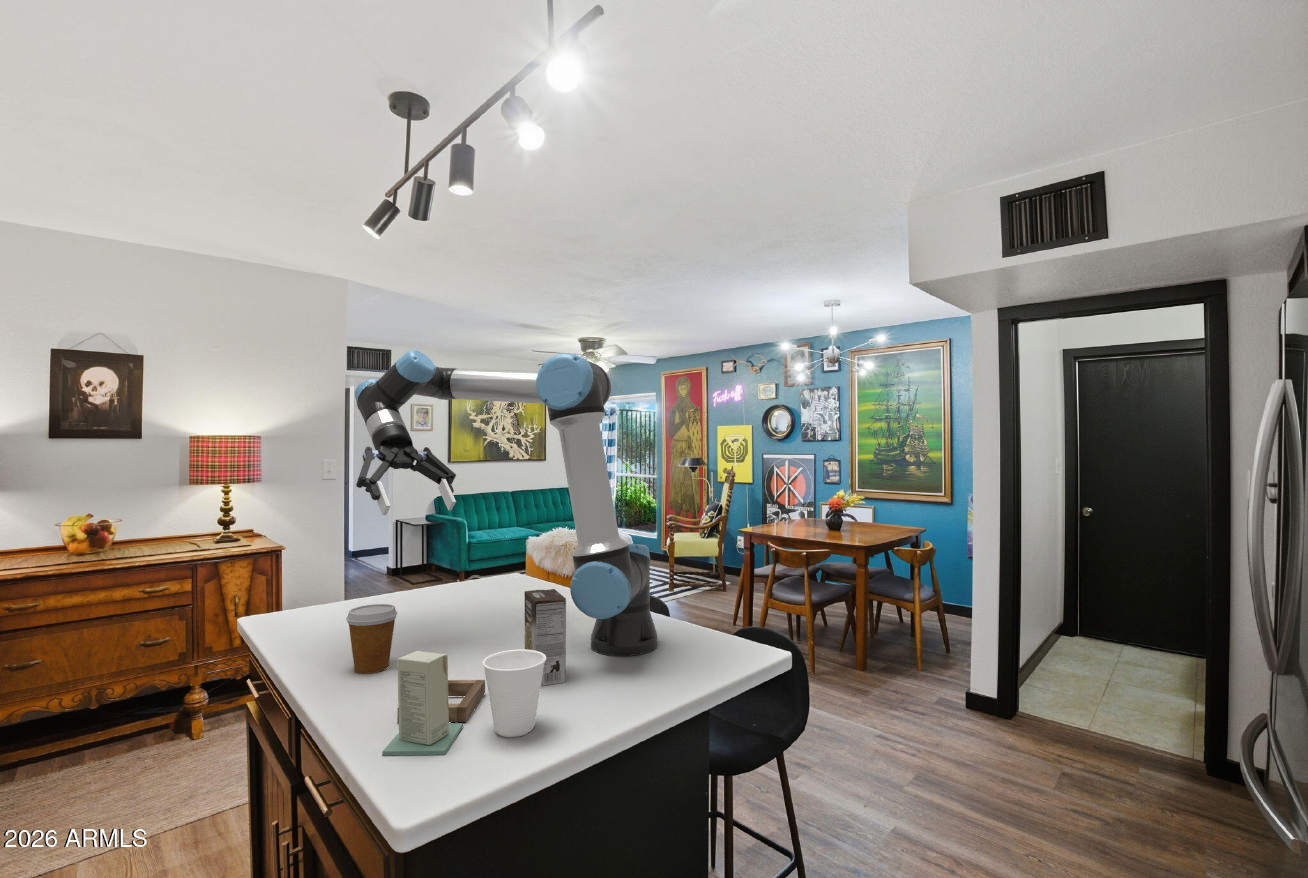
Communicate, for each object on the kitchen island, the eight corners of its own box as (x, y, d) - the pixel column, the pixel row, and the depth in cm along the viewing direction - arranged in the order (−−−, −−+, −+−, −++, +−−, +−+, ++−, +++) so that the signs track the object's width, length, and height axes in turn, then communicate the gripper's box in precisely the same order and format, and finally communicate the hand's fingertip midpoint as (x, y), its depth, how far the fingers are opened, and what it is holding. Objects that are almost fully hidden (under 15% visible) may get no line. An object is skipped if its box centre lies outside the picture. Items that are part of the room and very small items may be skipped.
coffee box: (523, 671, 121) (523, 590, 122) (555, 667, 124) (555, 587, 124) (533, 687, 113) (533, 600, 114) (566, 682, 116) (566, 597, 116)
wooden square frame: (485, 693, 110) (485, 679, 110) (466, 722, 98) (466, 707, 98) (424, 694, 110) (424, 680, 110) (397, 723, 98) (397, 707, 98)
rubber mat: (463, 726, 97) (463, 723, 97) (445, 754, 88) (445, 750, 88) (406, 727, 97) (406, 723, 97) (382, 755, 88) (382, 751, 88)
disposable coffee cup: (377, 678, 118) (377, 616, 118) (334, 675, 120) (335, 613, 120) (406, 662, 127) (407, 604, 128) (366, 659, 129) (367, 602, 130)
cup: (488, 717, 100) (488, 649, 101) (549, 714, 101) (549, 648, 102) (476, 745, 91) (476, 671, 91) (543, 742, 91) (543, 668, 92)
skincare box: (450, 734, 93) (450, 653, 93) (429, 746, 89) (430, 662, 89) (417, 727, 95) (417, 648, 96) (396, 739, 91) (396, 657, 92)
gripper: (438, 448, 144) (470, 515, 133) (323, 447, 126) (350, 525, 115) (449, 424, 140) (483, 492, 130) (333, 420, 122) (361, 498, 112)
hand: (420, 508), depth 122 cm, fingers open, 13 cm apart
